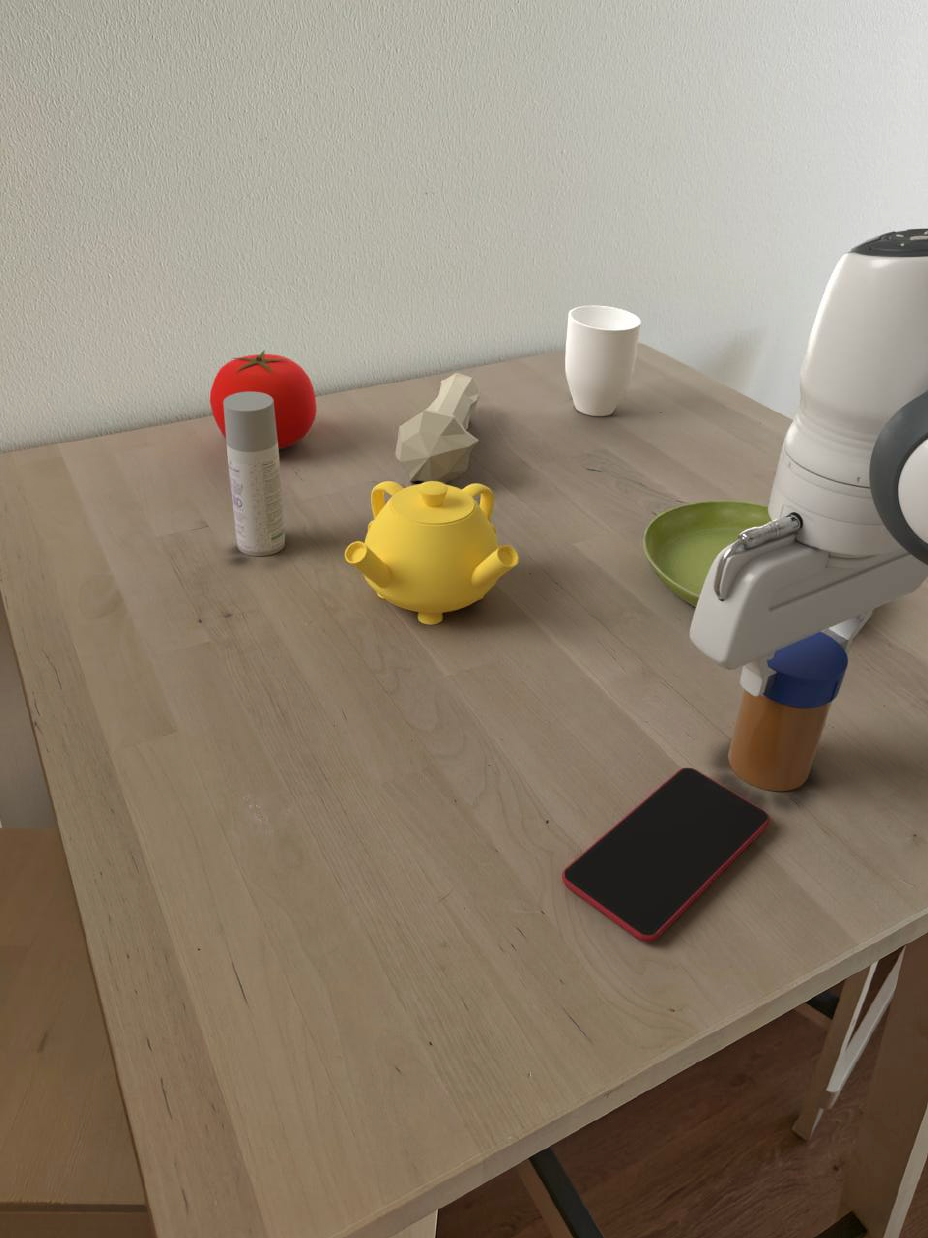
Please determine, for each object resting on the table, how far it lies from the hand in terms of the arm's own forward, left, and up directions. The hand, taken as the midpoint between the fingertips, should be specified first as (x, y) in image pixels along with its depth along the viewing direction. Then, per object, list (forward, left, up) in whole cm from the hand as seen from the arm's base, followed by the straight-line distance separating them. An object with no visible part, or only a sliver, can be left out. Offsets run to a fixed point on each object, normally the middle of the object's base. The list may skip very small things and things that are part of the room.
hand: (794, 671), depth 71 cm
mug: (+64, -21, -9) cm, 68 cm away
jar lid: (0, 0, +1) cm, 1 cm away
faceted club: (+58, +2, -9) cm, 59 cm away
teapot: (+29, +16, -9) cm, 34 cm away
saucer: (+22, -14, -9) cm, 28 cm away
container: (+44, +28, -9) cm, 53 cm away
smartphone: (-5, +12, -9) cm, 16 cm away
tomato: (+66, +22, -9) cm, 70 cm away
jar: (0, 0, -9) cm, 9 cm away
